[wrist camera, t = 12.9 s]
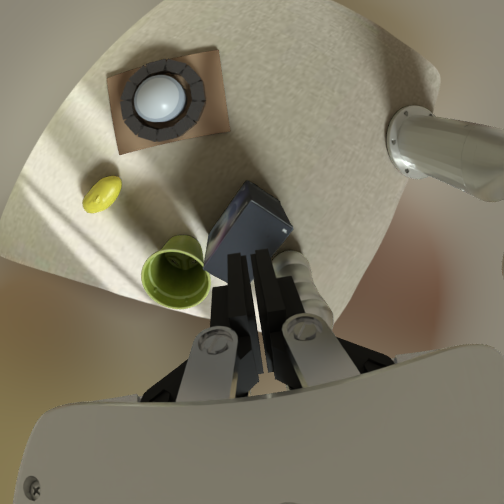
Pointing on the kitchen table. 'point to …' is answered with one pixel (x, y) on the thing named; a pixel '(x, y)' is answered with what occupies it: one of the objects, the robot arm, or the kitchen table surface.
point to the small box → (246, 229)
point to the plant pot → (177, 274)
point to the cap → (160, 99)
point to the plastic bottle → (303, 283)
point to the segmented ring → (184, 124)
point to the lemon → (102, 194)
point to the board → (210, 120)
